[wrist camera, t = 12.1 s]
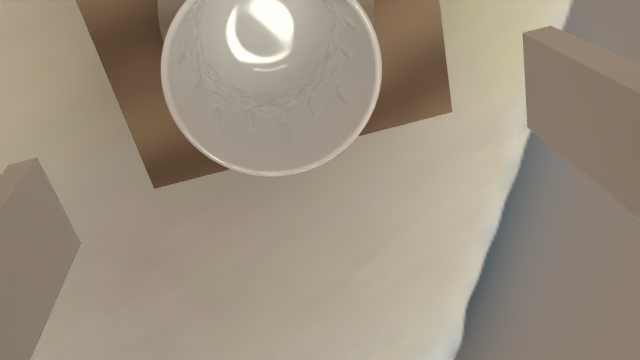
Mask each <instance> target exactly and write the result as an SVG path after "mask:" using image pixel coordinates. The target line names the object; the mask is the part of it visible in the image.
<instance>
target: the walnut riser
mask: <svg viewBox="0 0 640 360" xmlns="http://www.w3.org/2000/svg"><path fill="white" fill-rule="evenodd" d="M185 1H186V0H76V2H77V4H78V6H79V9H80V11H81V14H82V16H83V18H84V21H85V23H86V26H87V28H88V30H89V33H90V35H91V38H92V40H93V42H94V45H95V47H96V50H97V52H98V55H99V57H100V59H101V62H102V64H103V67H104V69H105V71H106V74H107V76H108V79H109V81H110V83H111V86H112V88H113V91H114V93H115V95H116V98H117V100H118V103H119V105H120V107H121V110H122V112H123V115H124V117H125V119H126V122H127V124H128V127H129V129H130V131H131V134H132V136H133V139H134V141H135V143H136V146H137V148H138V151H139V153H140V155H141V158H142V160H143V163H144V165H145V167H146V170H147V172H148V175H149V177H150V179H151V182H152V184H153V187H154V188H158V187H162V186H166V185H170V184H174V183H178V182H182V181H186V180H189V179H193V178H197V177H201V176H205V175H209V174H213V173H217V172H221V171H224V170H228V169H229V168H227V167H224V166H222V165H220V164H218V163H217V162H215V161H213V160H211V159H210V158H208V157H207V156H206V155H204V154H203V153H202V152H200V151H199V150H198V149H197V148H196V147H195V146H194V145H192V144H191V142H190V141H189V140H188V139H187V138H186V137H185V136H184V134H183V133H182V132H181V130H180V129H179V128H178V126H177V124H176V123H175V121H174V119H173V117H172V115H171V113H170V111H169V109H168V106H167V103H166V100H165V97H164V93H163V88H162V82H161V56H162V49H163V45H164V41H165V37H166V34H167V32H168V29H169V27H170V25H171V22H172V20H173V19H174V17H175V15H176V13H177V12H178V10H179V9H180V7H181V6H182V5H183V3H184V2H185ZM357 1H358V3H359V4H360V5H361V7H362V8H363V9H364V11H365V12H366V14H367V16H368V17H369V19H370V21H371V23H372V25H373V28H374V30H375V33H376V36H377V39H378V42H379V47H380V52H381V59H382V79H381V86H380V91H379V96H378V99H377V102H376V105H375V108H374V110H373V113H372V115H371V117H370V119H369V120H368V122H367V124H366V125H365V127H364V128H363V130H362V131H361V133H360V134H359V135H358V136H360V135H364V134H368V133H372V132H376V131H380V130H384V129H388V128H392V127H395V126H399V125H403V124H407V123H411V122H415V121H419V120H423V119H427V118H430V117H434V116H438V115H442V114H446V113H450V112H452V107H451V98H450V90H449V81H448V73H447V64H446V56H445V47H444V39H443V30H442V22H441V13H440V5H439V0H357Z"/></svg>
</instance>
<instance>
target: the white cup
mask: <svg viewBox="0 0 640 360" xmlns="http://www.w3.org/2000/svg"><path fill="white" fill-rule="evenodd" d="M381 79H382V59H381V52H380V47H379V42H378V39H377V36H376V33H375V30H374V28H373V25H372V23H371V21H370V19H369V17H368V16H367V14H366V12H365V11H364V9H363V8H362V7H361V5H360V4H359V3H358V1H357V0H186V1H185V2H184V3H183V5H182V6H181V7H180V9H179V10H178V12H177V13H176V15H175V17H174V19H173V20H172V22H171V25H170V27H169V29H168V32H167V34H166V37H165V41H164V45H163V49H162V56H161V82H162V88H163V93H164V97H165V100H166V103H167V106H168V109H169V111H170V113H171V115H172V117H173V119H174V121H175V123H176V124H177V126H178V128H179V129H180V130H181V132H182V133H183V134H184V136H185V137H186V138H187V139H188V140H189V141H190V142H191V144H192V145H194V146H195V147H196V148H197V149H198V150H199V151H200V152H202V153H203V154H204V155H206V156H207V157H208V158H210V159H211V160H213V161H215V162H217V163H218V164H220V165H222V166H224V167H227V168H229V169H232V170H235V171H238V172H241V173H245V174H250V175H255V176H266V177H276V176H287V175H293V174H298V173H302V172H305V171H308V170H311V169H313V168H316V167H318V166H320V165H322V164H324V163H326V162H328V161H330V160H331V159H333V158H334V157H336V156H337V155H339V154H340V153H341V152H342V151H344V150H345V149H346V148H347V147H348V146H349V145H350V144H351V143H352V142H353V141H354V140H355V139H356V138H357V136H358V135H359V134H360V133H361V131H362V130H363V128H364V127H365V125H366V124H367V122H368V120H369V119H370V117H371V115H372V113H373V110H374V108H375V105H376V102H377V99H378V96H379V91H380V86H381Z"/></svg>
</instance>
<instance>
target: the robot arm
mask: <svg viewBox="0 0 640 360" xmlns="http://www.w3.org/2000/svg"><path fill="white" fill-rule="evenodd" d="M523 49H524V68H525V88H526V108H527V127H528V128H529V129H530V130H532V131H533V132H534V133H535V134H536V135H538V136H539V137H540V138H541V139H542V140H544V141H545V142H546V143H547V144H549V145H550V146H551V147H552V148H553V149H555V150H556V151H557V152H558V153H559V154H560V155H562V156H563V157H564V158H565V159H567V160H568V161H569V162H570V163H571V164H573V165H574V166H575V167H576V168H578V169H579V170H580V171H581V172H582V173H584V174H585V175H586V176H587V177H588V178H589V179H591V180H592V181H593V182H594V183H596V184H597V185H598V186H599V187H600V188H601V189H603V190H604V191H605V192H606V193H607V194H609V195H610V196H611V197H612V198H613V199H615V200H616V201H617V202H618V203H619V204H621V205H622V206H623V207H624V208H625V209H627V210H628V211H629V212H630V213H632V214H633V215H634V216H635V217H636V218H638V219H639V220H640V65H637V64H635V63H633V62H631V61H628V60H626V59H624V58H622V57H620V56H617V55H615V54H613V53H610V52H608V51H606V50H604V49H602V48H599V47H597V46H595V45H593V44H590V43H588V42H586V41H584V40H581V39H579V38H577V37H575V36H572V35H570V34H568V33H566V32H564V31H561V30H559V29H557V28H555V27H553V26H548V27H544V28H540V29H536V30H532V31H528V32H524V33H523ZM80 244H81V242H80V240H79V238H78V236H77V234H76V233H75V231H74V229H73V227H72V225H71V223H70V221H69V219H68V217H67V215H66V213H65V211H64V209H63V207H62V205H61V203H60V201H59V199H58V197H57V196H56V194H55V192H54V190H53V188H52V186H51V184H50V182H49V180H48V178H47V176H46V174H45V172H44V170H43V168H42V166H41V164H40V162H39V160H38V159H37V158H35V159H31V160H27V161H23V162H20V163H16V164H12V165H8V167H7V168H6V169H5V170H4V172H3V173H2V174H1V175H0V360H30V359H31V356H32V354H33V352H34V349H35V347H36V345H37V343H38V340H39V338H40V336H41V333H42V331H43V329H44V326H45V324H46V322H47V320H48V317H49V315H50V313H51V310H52V308H53V306H54V304H55V301H56V299H57V297H58V294H59V292H60V290H61V287H62V285H63V283H64V281H65V278H66V276H67V274H68V271H69V269H70V267H71V264H72V262H73V260H74V258H75V255H76V253H77V251H78V248H79V246H80Z"/></svg>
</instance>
